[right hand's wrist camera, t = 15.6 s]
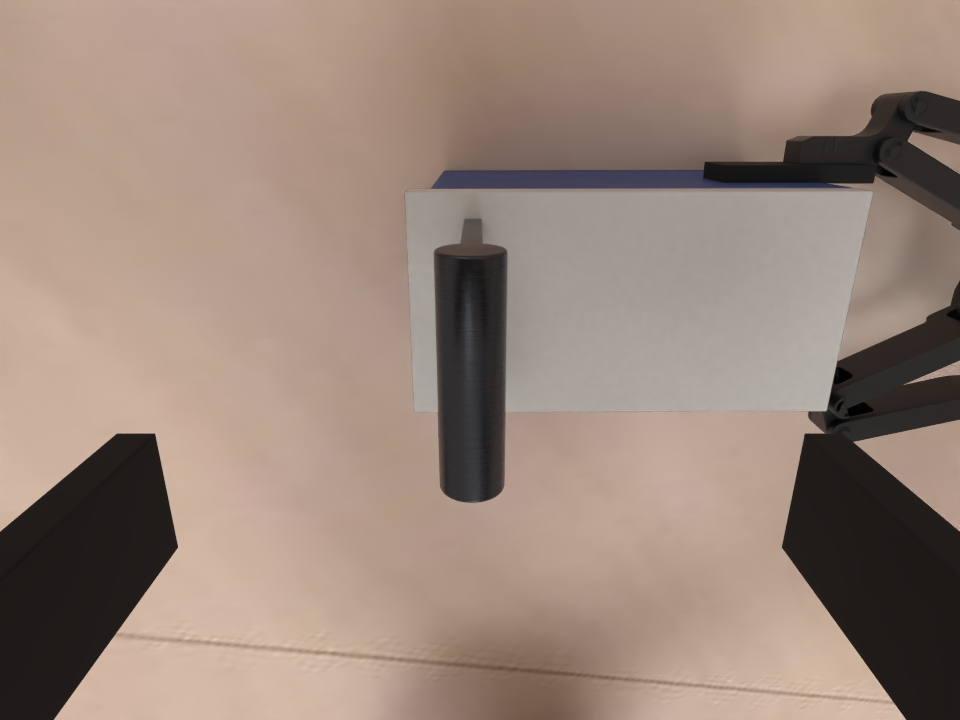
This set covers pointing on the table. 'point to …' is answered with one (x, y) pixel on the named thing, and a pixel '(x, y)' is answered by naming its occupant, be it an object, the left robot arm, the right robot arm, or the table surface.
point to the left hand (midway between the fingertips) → (700, 279)
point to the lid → (621, 306)
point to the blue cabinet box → (595, 180)
